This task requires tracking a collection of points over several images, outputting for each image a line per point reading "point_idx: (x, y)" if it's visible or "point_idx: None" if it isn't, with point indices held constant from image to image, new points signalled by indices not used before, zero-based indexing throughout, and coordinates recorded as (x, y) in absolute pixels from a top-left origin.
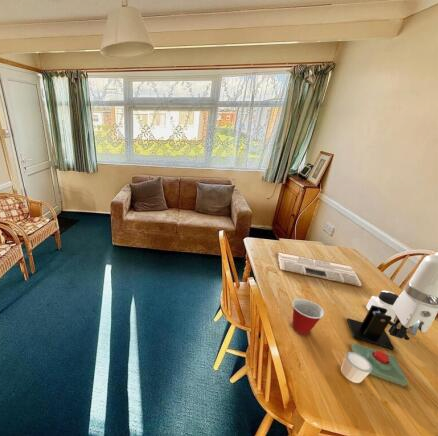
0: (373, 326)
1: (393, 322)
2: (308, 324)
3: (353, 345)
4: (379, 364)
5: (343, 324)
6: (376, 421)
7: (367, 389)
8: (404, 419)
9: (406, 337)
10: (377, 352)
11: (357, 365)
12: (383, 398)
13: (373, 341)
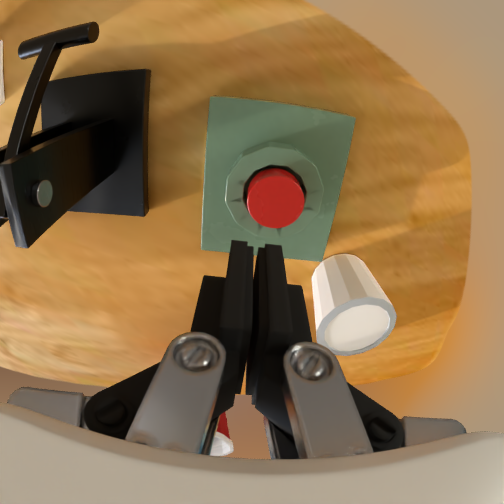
0: (80, 183)
1: (2, 41)
2: None
3: (213, 249)
4: (315, 215)
5: (88, 223)
6: (452, 264)
7: (382, 250)
8: (450, 193)
9: (89, 35)
10: (264, 218)
11: (372, 335)
12: (404, 217)
13: (138, 146)
